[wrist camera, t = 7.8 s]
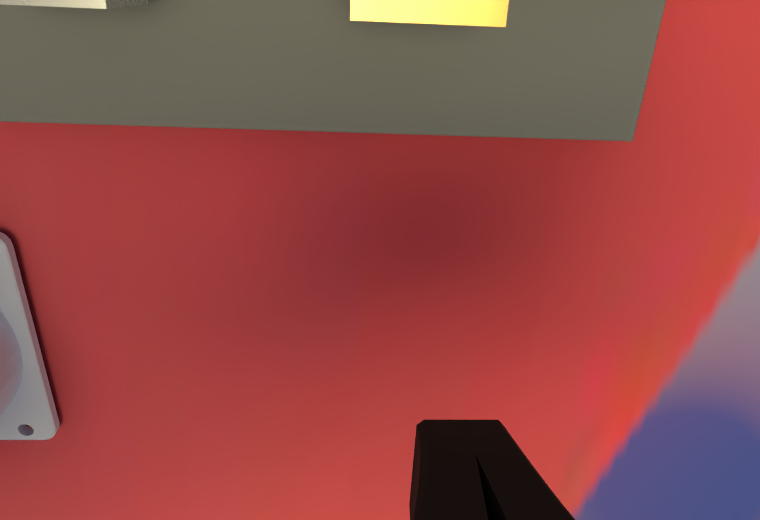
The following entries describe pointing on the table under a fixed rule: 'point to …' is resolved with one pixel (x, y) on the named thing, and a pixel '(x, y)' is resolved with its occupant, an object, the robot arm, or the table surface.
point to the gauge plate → (331, 68)
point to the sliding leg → (432, 11)
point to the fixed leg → (77, 3)
